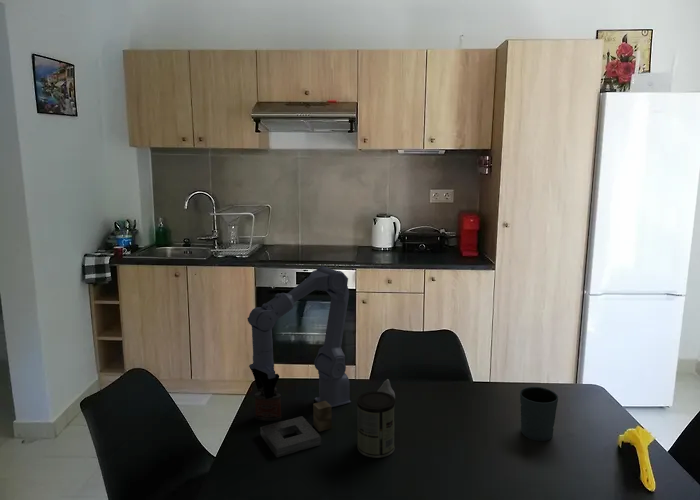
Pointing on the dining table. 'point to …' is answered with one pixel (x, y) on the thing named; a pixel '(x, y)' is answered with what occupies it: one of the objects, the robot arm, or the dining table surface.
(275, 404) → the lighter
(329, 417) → the peg
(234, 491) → the dining table surface
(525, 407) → the dark grey cup
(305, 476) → the dining table surface
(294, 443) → the square hole board
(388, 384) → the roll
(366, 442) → the coffee can
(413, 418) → the dining table surface
